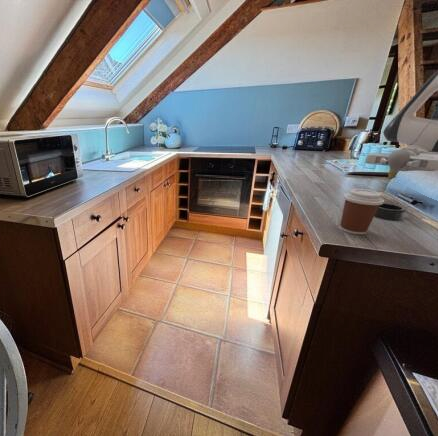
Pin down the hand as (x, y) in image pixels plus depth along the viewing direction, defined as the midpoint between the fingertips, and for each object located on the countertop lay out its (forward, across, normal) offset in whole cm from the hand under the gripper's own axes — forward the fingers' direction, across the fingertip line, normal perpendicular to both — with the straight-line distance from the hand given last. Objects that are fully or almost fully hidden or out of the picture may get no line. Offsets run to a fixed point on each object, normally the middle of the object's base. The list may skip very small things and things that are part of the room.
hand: (396, 163), depth 84 cm
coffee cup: (+30, +1, +17) cm, 34 cm away
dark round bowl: (+8, +3, +17) cm, 19 cm away
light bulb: (-1, 0, +6) cm, 6 cm away
